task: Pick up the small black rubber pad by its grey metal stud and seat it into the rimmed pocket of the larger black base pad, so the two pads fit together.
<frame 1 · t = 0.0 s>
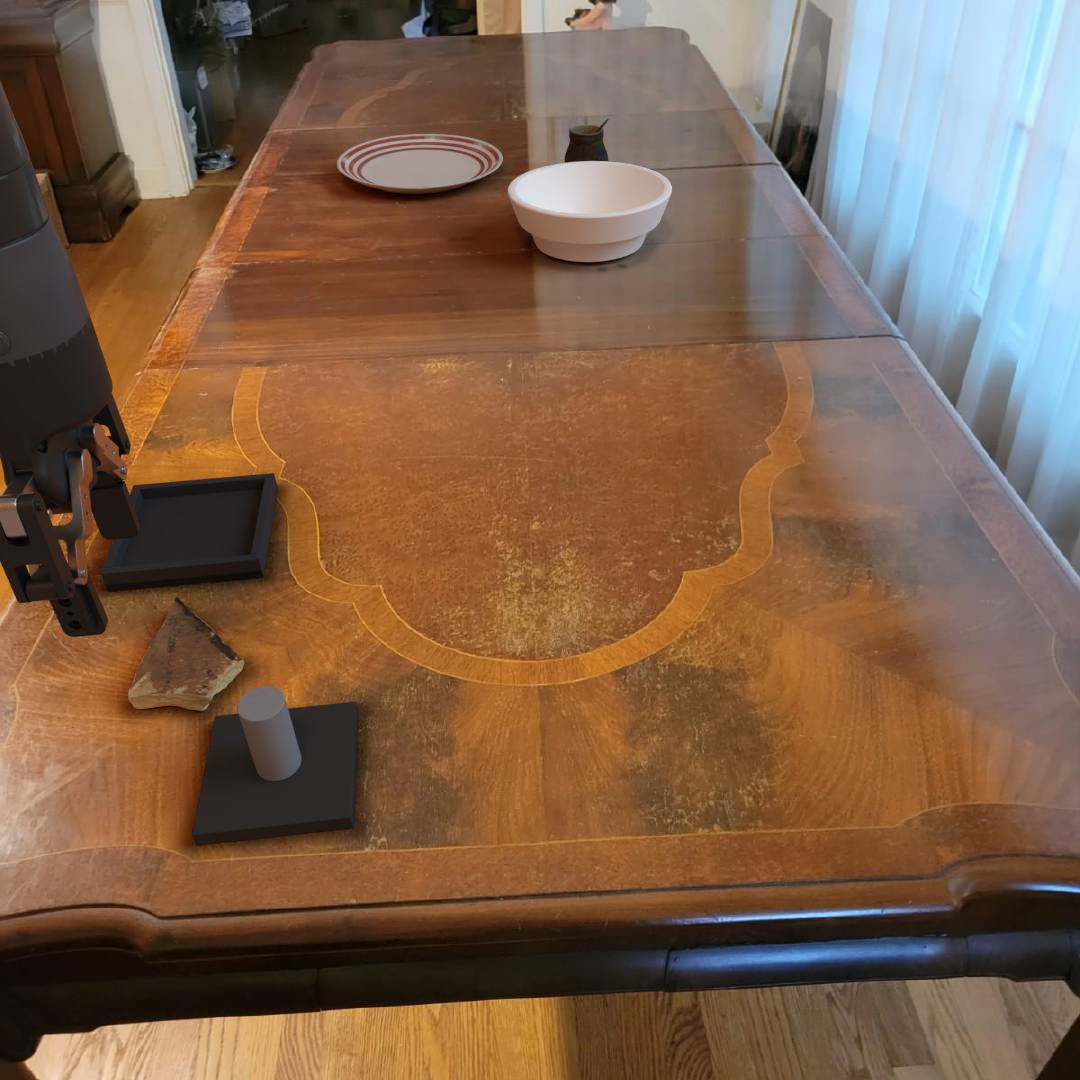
hand: (106, 580, 57), 17 cm above the table, tool pointing down, fingers open, 8 cm apart
base pad: (198, 537, 88), on the table
bowl: (589, 247, 139), on the table
shard: (174, 672, 75), on the table
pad: (282, 774, 67), on the table
mate gourd: (587, 180, 161), on the table
dinner plate: (422, 177, 165), on the table
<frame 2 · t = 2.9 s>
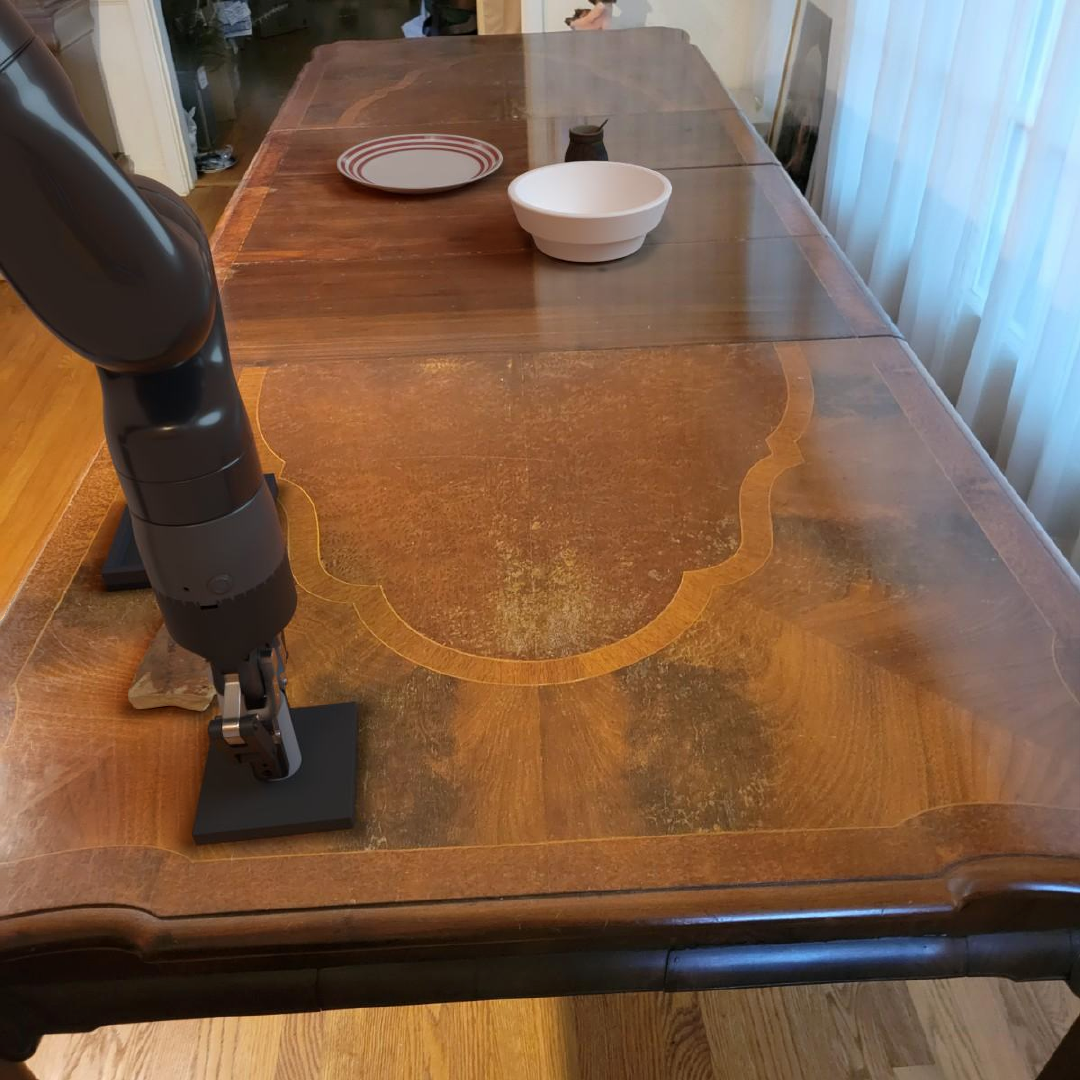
hand: (275, 752, 65), 2 cm above the table, tool pointing down, fingers closed on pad, 3 cm apart
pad: (282, 774, 67), on the table, touching gripper
everything else where it was.
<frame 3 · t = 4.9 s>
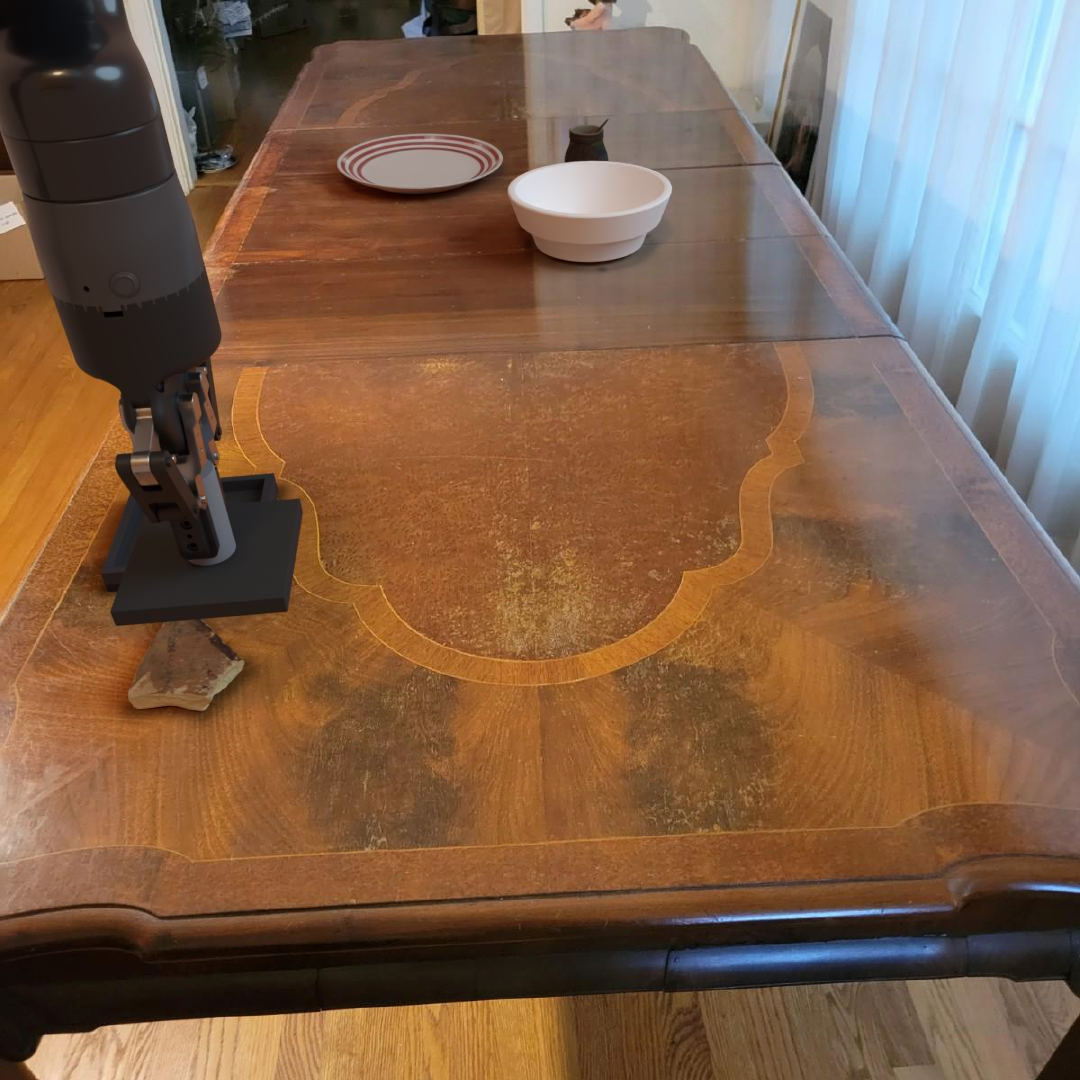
hand: (206, 536, 60), 17 cm above the table, tool pointing down, fingers closed on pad, 3 cm apart
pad: (215, 565, 62), point 15 cm above the table, touching gripper
everything else where it was.
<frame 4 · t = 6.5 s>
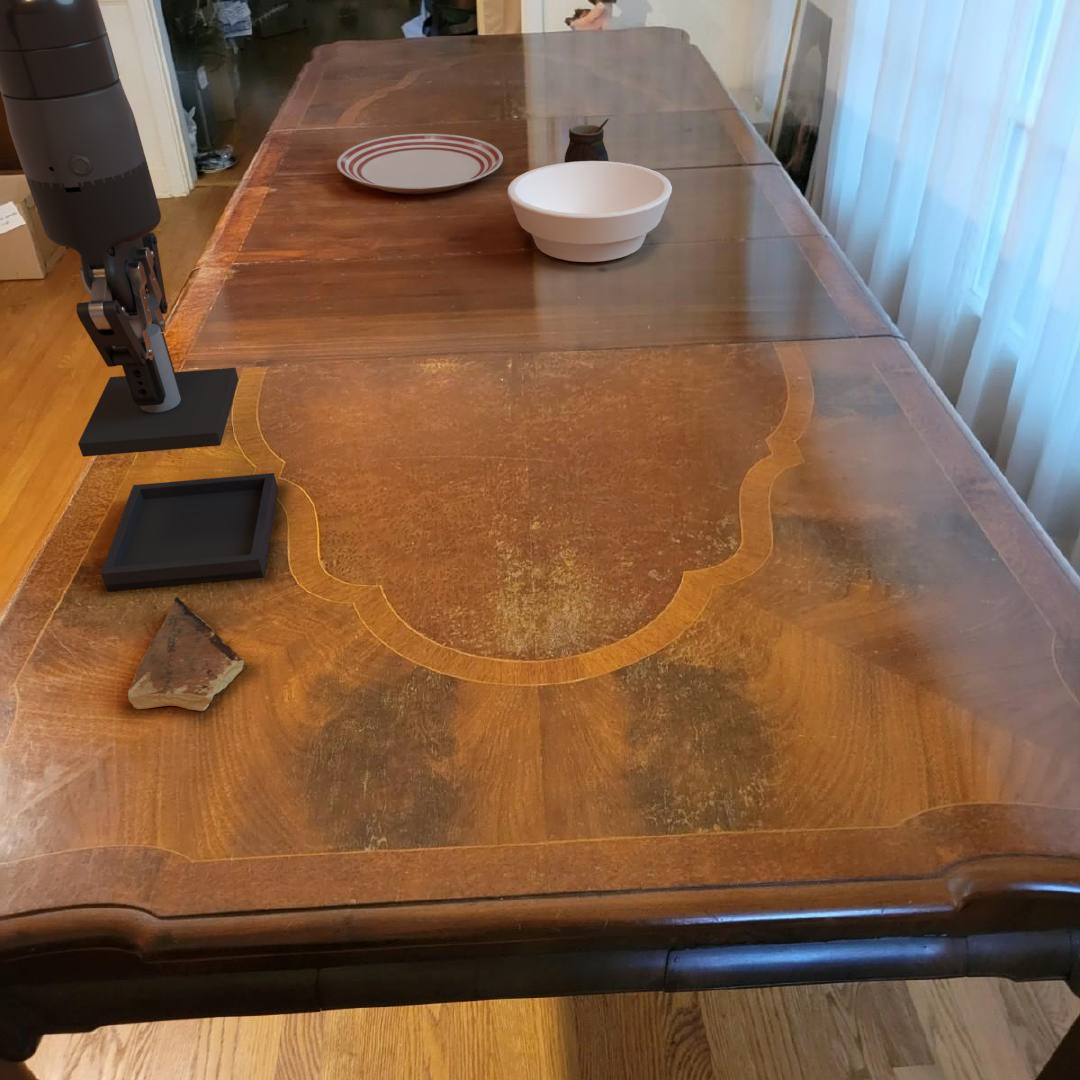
hand: (155, 390, 75), 17 cm above the table, tool pointing down, fingers closed on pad, 3 cm apart
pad: (165, 416, 76), point 15 cm above the table, touching gripper
everything else where it was.
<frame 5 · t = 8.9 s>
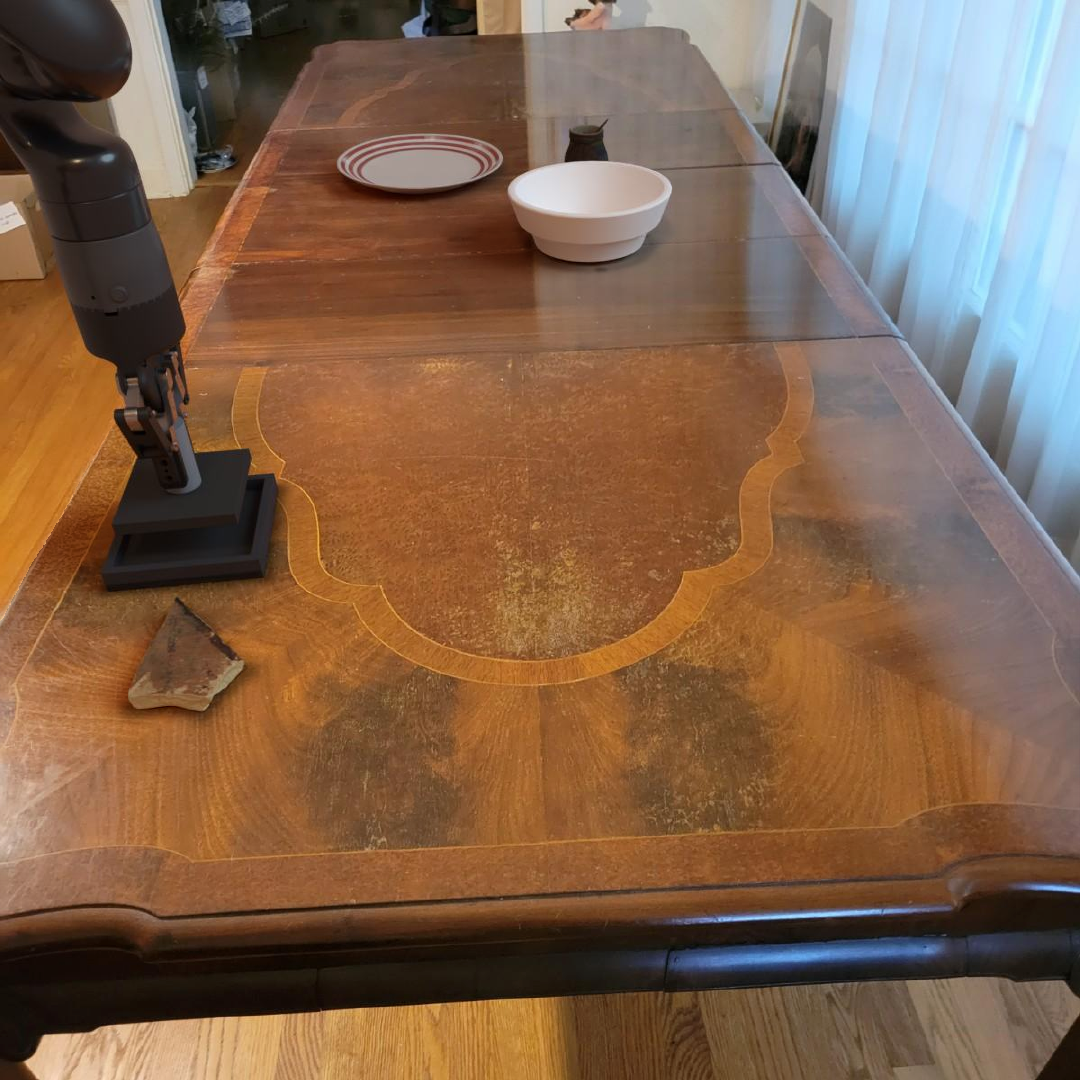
hand: (179, 473, 84), 7 cm above the table, tool pointing down, fingers closed on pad, 3 cm apart
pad: (187, 495, 85), point 5 cm above the table, touching gripper
everything else where it was.
when the fingers open (3 cm above the table, at t = 10.2 s): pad stays where it is, resting on base pad.
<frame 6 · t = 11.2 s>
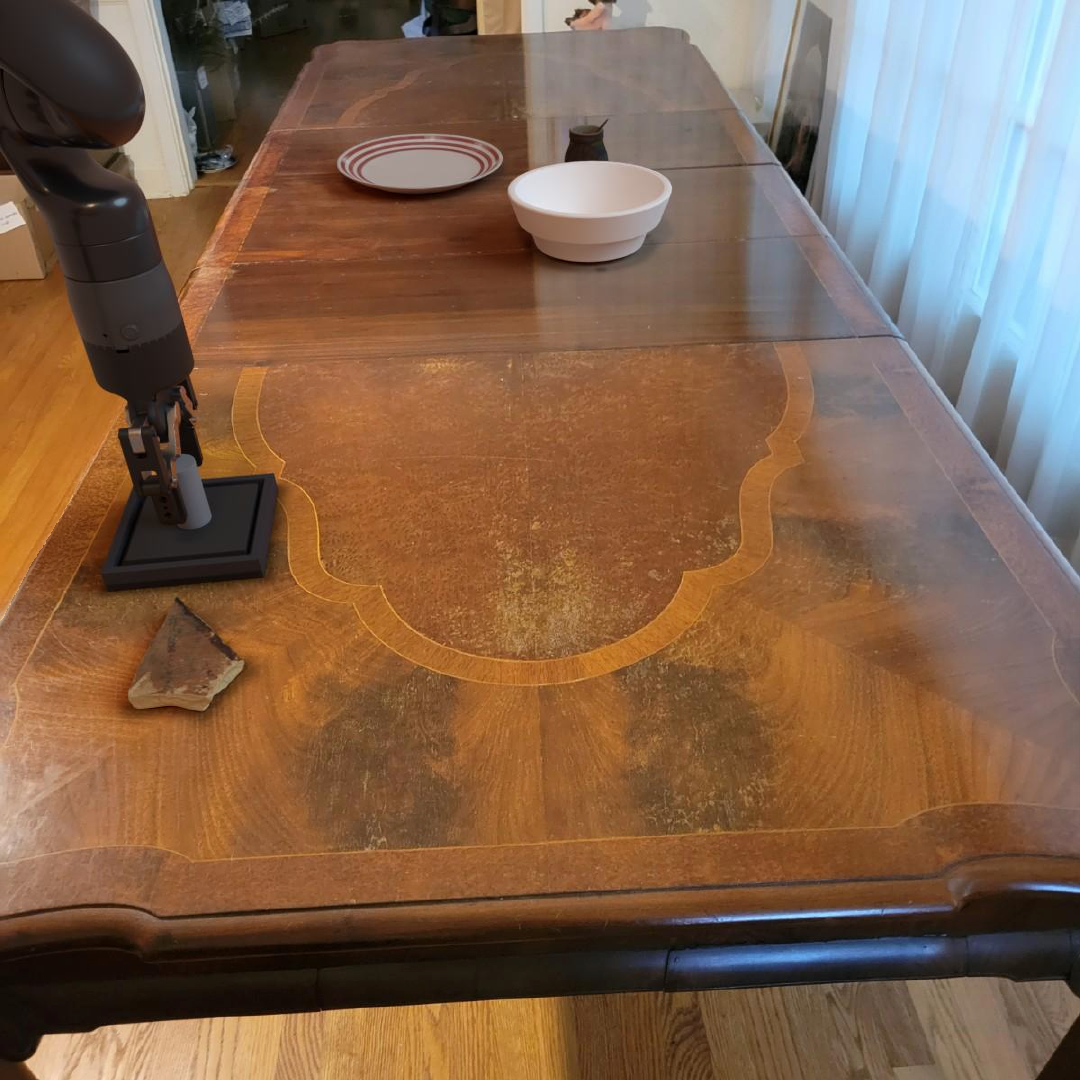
hand: (183, 492, 85), 5 cm above the table, tool pointing down, fingers open, 8 cm apart
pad: (197, 530, 88), point 1 cm above the table, touching base pad
everything else where it was.
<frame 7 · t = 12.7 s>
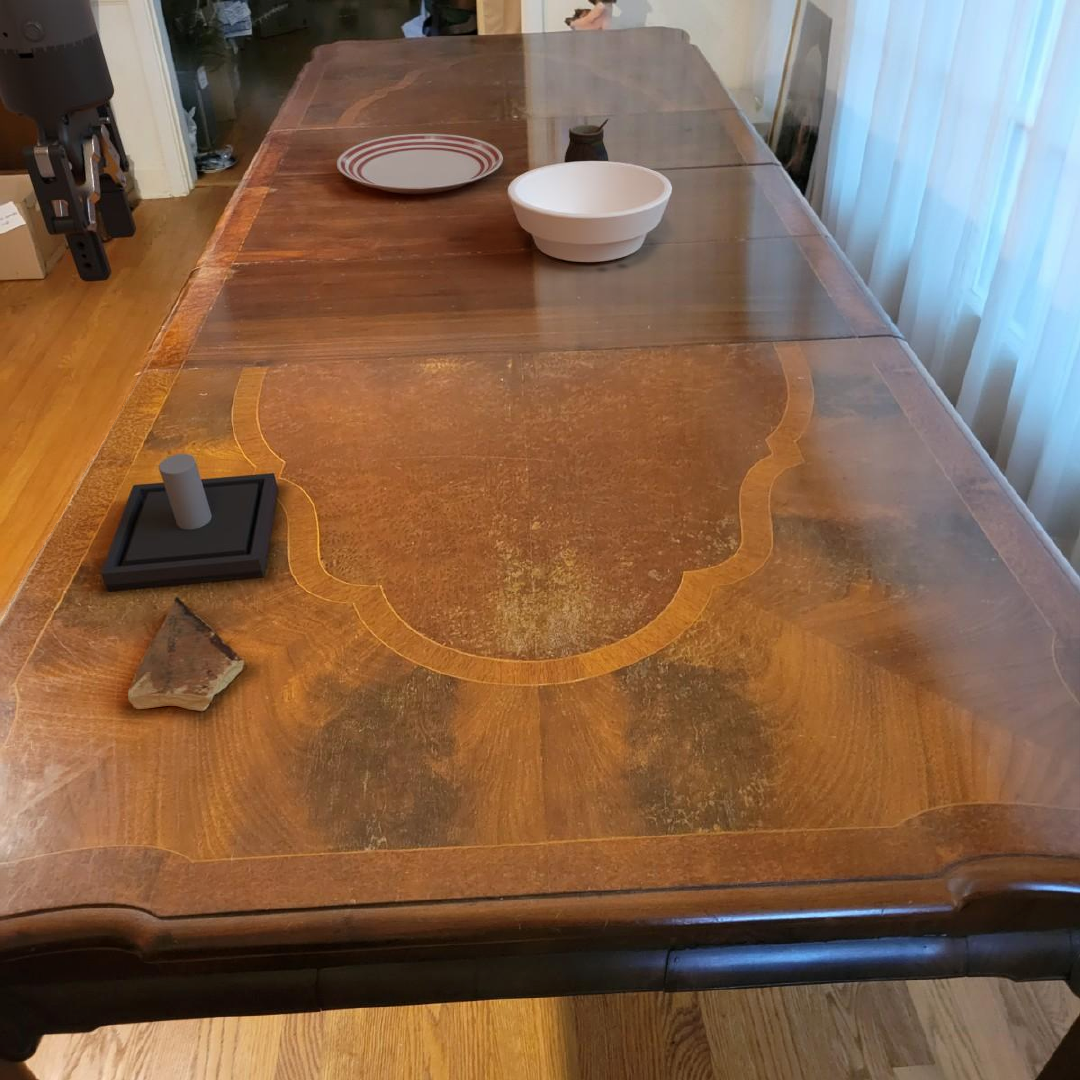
hand: (110, 256, 78), 24 cm above the table, tool pointing down, fingers open, 8 cm apart
nothing on the table moved.
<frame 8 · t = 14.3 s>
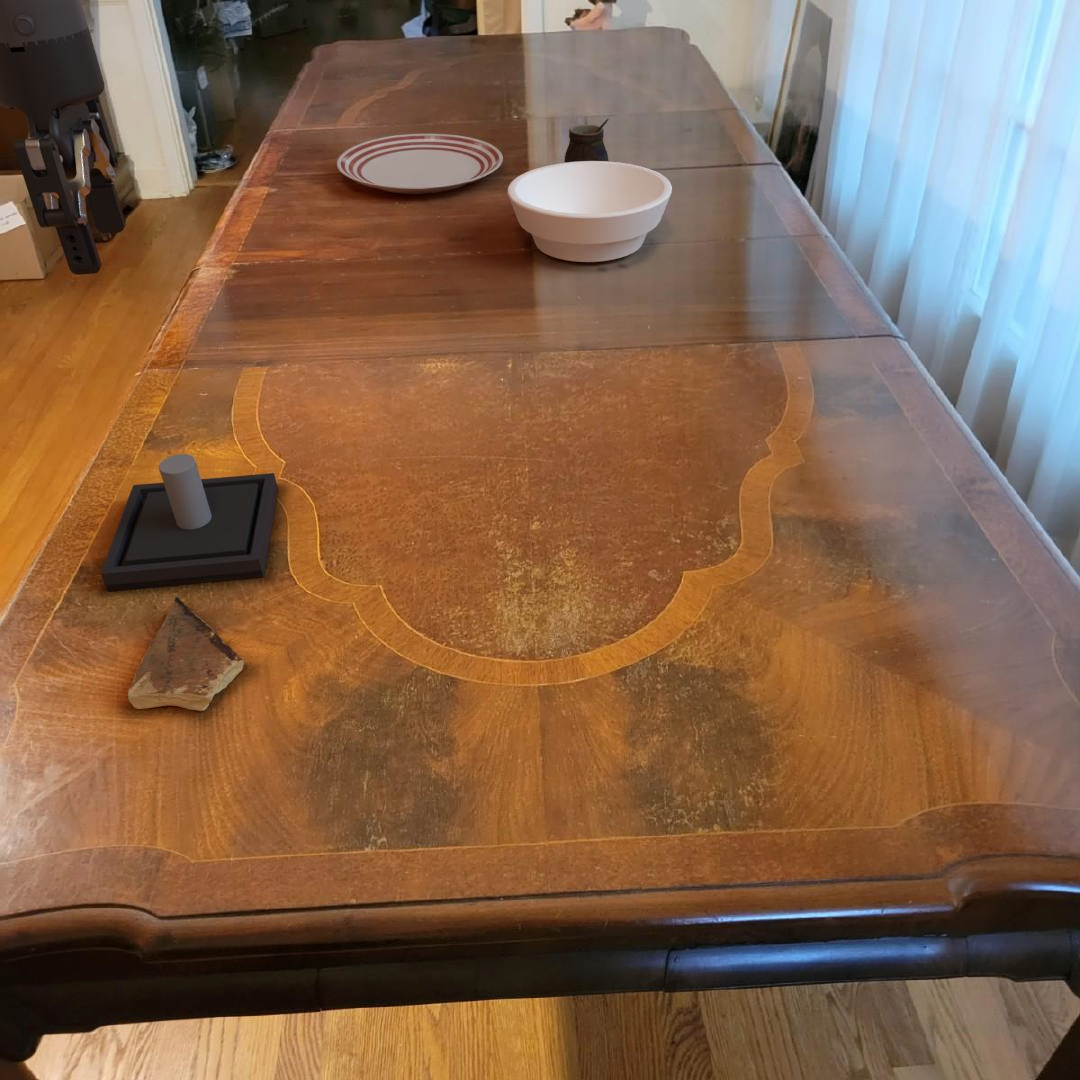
hand: (100, 250, 78), 24 cm above the table, tool pointing down, fingers open, 8 cm apart
nothing on the table moved.
at the end: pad 0.1 cm off-centre on the base pad, point 0.8 cm above the base pad's base; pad tilted 0° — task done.
